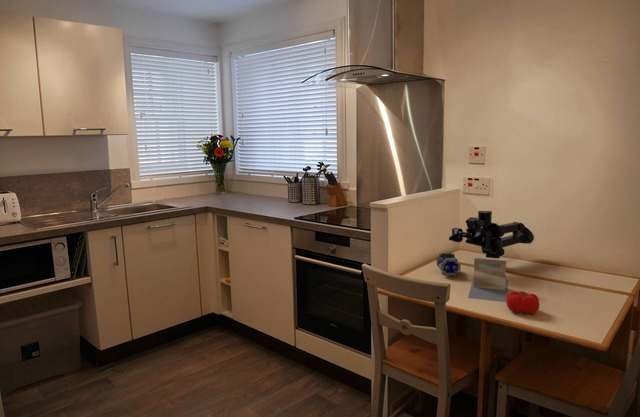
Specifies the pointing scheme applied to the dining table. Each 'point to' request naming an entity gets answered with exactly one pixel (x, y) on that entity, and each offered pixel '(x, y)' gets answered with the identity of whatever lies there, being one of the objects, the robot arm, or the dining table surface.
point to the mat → (488, 293)
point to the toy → (448, 264)
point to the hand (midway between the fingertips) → (457, 240)
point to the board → (489, 273)
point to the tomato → (522, 302)
